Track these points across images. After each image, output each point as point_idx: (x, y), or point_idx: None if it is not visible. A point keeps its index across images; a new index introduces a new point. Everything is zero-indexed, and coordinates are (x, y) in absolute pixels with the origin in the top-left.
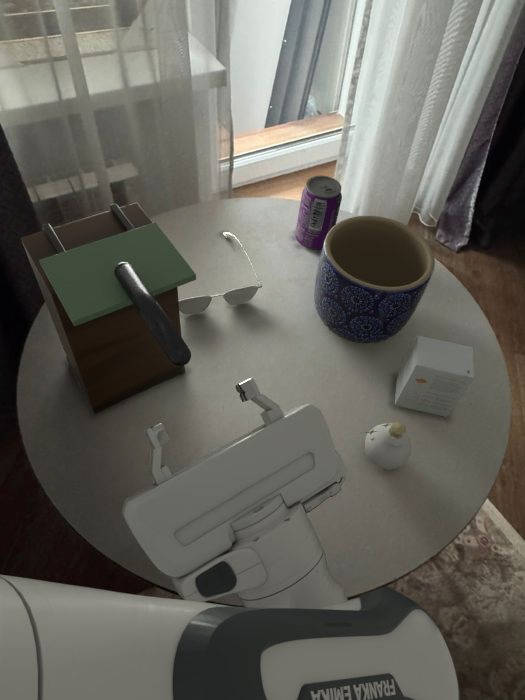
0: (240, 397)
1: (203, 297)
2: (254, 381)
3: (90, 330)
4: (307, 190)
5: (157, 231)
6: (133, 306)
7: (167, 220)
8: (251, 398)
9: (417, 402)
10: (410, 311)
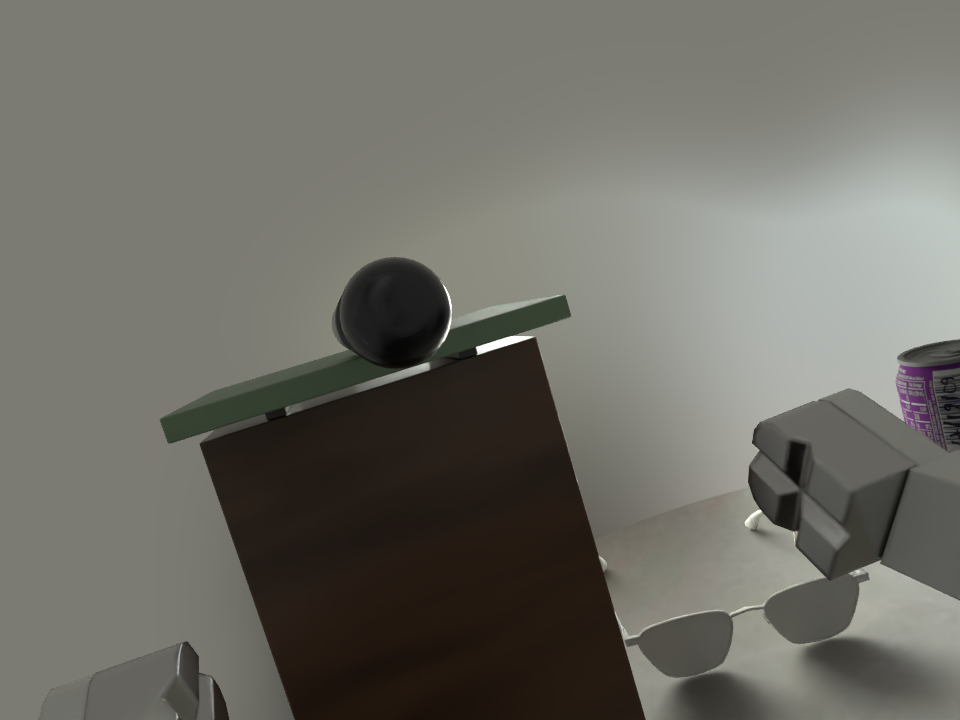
0: (804, 549)
1: (708, 616)
2: (861, 393)
3: (327, 594)
4: (906, 367)
5: (492, 307)
6: (448, 519)
7: (628, 529)
8: (877, 477)
9: None
10: None
